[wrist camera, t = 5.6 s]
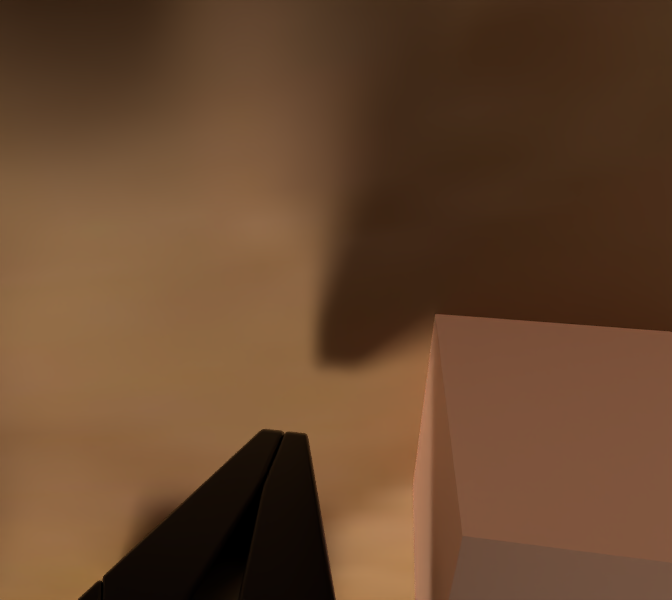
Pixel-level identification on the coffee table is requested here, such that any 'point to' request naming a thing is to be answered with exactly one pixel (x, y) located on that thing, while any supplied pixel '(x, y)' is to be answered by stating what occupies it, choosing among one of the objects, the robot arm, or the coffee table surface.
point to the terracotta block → (544, 463)
